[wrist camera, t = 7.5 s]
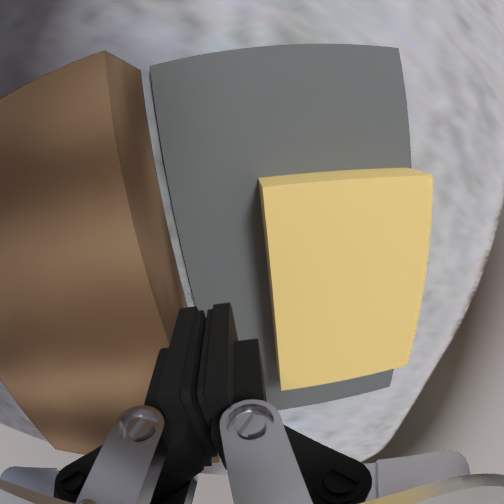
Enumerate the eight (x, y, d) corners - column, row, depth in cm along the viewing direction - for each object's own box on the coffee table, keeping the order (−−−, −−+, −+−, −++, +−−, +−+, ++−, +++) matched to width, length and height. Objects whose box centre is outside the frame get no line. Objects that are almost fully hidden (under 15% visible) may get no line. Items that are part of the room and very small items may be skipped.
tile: (433, 175, 11) (407, 167, 13) (262, 187, 11) (258, 178, 13) (407, 364, 14) (392, 341, 17) (281, 390, 14) (276, 362, 17)
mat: (151, 67, 11) (149, 66, 11) (395, 49, 11) (398, 48, 11) (227, 412, 18) (227, 415, 18) (388, 383, 18) (389, 386, 18)
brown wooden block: (-35, 148, 11) (-81, 160, 7) (140, 70, 11) (104, 50, 7) (71, 410, 19) (55, 449, 15) (220, 412, 18) (218, 462, 15)
